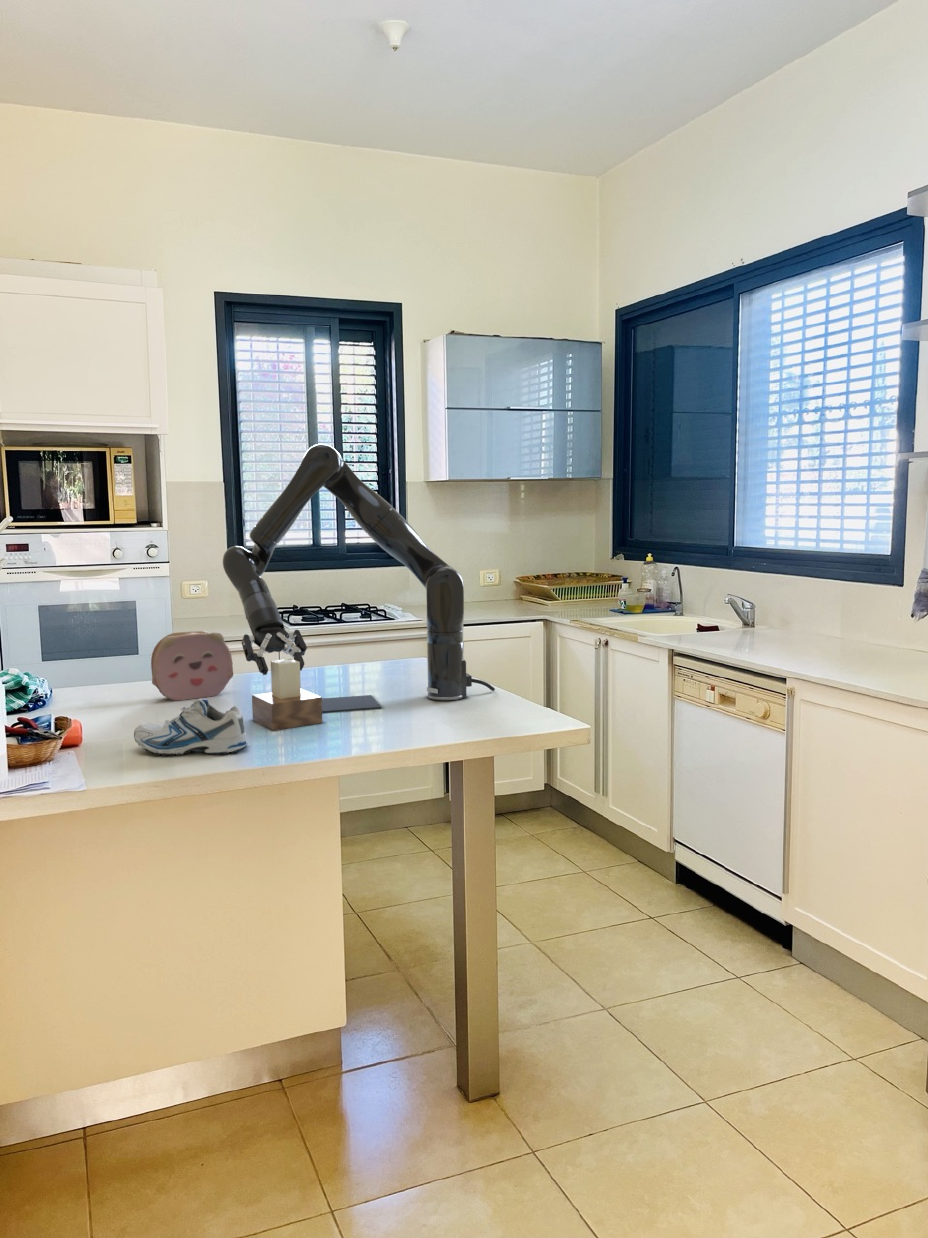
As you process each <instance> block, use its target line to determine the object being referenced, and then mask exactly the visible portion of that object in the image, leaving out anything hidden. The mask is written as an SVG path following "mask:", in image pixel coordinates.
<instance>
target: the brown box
mask: <svg viewBox="0 0 928 1238" xmlns="http://www.w3.org/2000/svg"><path fill="white" fill-rule="evenodd" d="M322 698H323V697H322V696H320V695H317V694H315V693H312V692H311V691H308V690H305V689H304V688H301V696H299V697H292V698H285V699H279V698H277V697H275V696H272V691H270V692H262V693H261V692H260V693H255V694H251V711H252V721H254V722H256V723H258V724H259V725H261V726H263V727H265V728H267V729H269V730H271V731H273V732H274V731H280V730H286V729H292V728H298V727H305V726H312V725H317V724H323V713H322Z"/></svg>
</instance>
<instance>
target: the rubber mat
mask: <svg viewBox="0 0 928 1238" xmlns="http://www.w3.org/2000/svg"><path fill="white" fill-rule="evenodd" d="M378 709H382V706H381V704H380V703H379V702H378V701H377V700H376V698H374V696H373V695H372V694H365V695H352V696H336V697H325V698H324V697H322V714H323V713H338V712H351V711H365V710H378Z"/></svg>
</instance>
